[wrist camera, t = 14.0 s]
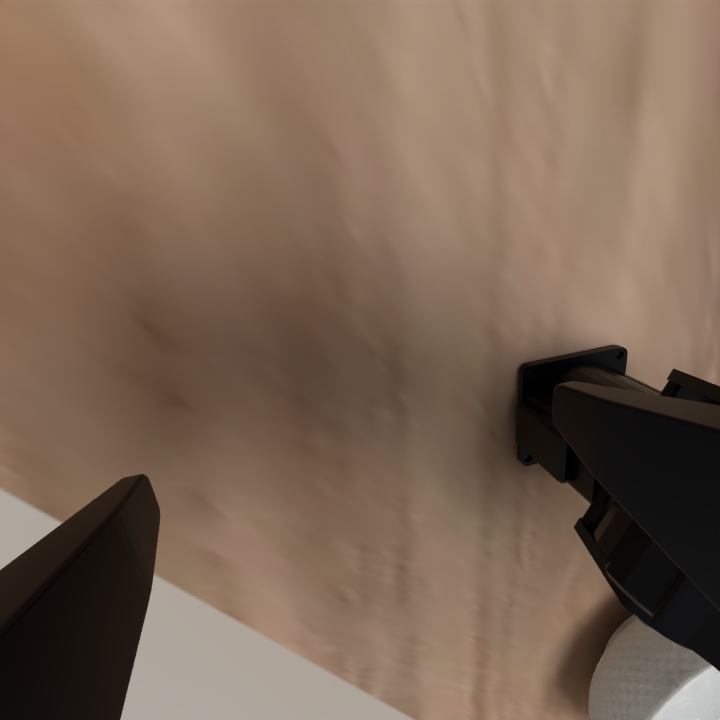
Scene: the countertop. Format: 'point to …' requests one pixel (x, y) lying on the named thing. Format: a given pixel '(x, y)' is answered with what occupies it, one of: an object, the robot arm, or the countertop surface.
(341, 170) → the countertop surface
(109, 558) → the robot arm
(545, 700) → the countertop surface
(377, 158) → the countertop surface
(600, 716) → the cereal bowl
